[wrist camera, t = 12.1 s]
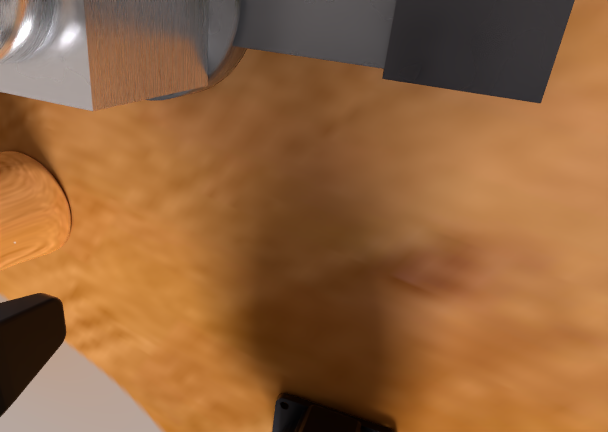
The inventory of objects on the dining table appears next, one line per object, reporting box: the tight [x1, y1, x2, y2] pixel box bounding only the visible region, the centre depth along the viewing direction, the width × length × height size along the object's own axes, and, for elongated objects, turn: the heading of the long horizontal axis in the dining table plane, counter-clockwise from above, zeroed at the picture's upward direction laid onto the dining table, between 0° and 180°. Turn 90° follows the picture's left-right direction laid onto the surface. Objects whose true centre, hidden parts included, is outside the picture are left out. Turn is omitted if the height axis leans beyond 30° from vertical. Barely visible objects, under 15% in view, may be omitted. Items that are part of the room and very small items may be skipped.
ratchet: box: [145, 0, 575, 103], centre depth 14 cm, size 18×8×6 cm, turn 83°
